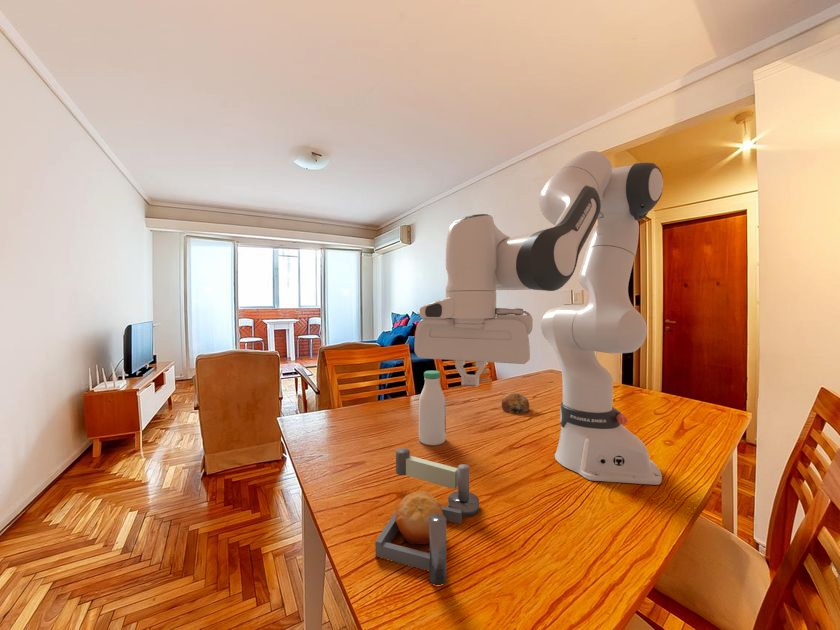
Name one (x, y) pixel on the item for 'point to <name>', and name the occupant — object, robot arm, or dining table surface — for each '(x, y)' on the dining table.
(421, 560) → the gray frame
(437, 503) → the fruit
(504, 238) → the robot arm
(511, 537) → the dining table surface
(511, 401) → the bread roll
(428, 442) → the milk bottle
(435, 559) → the post
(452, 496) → the base
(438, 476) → the gate
